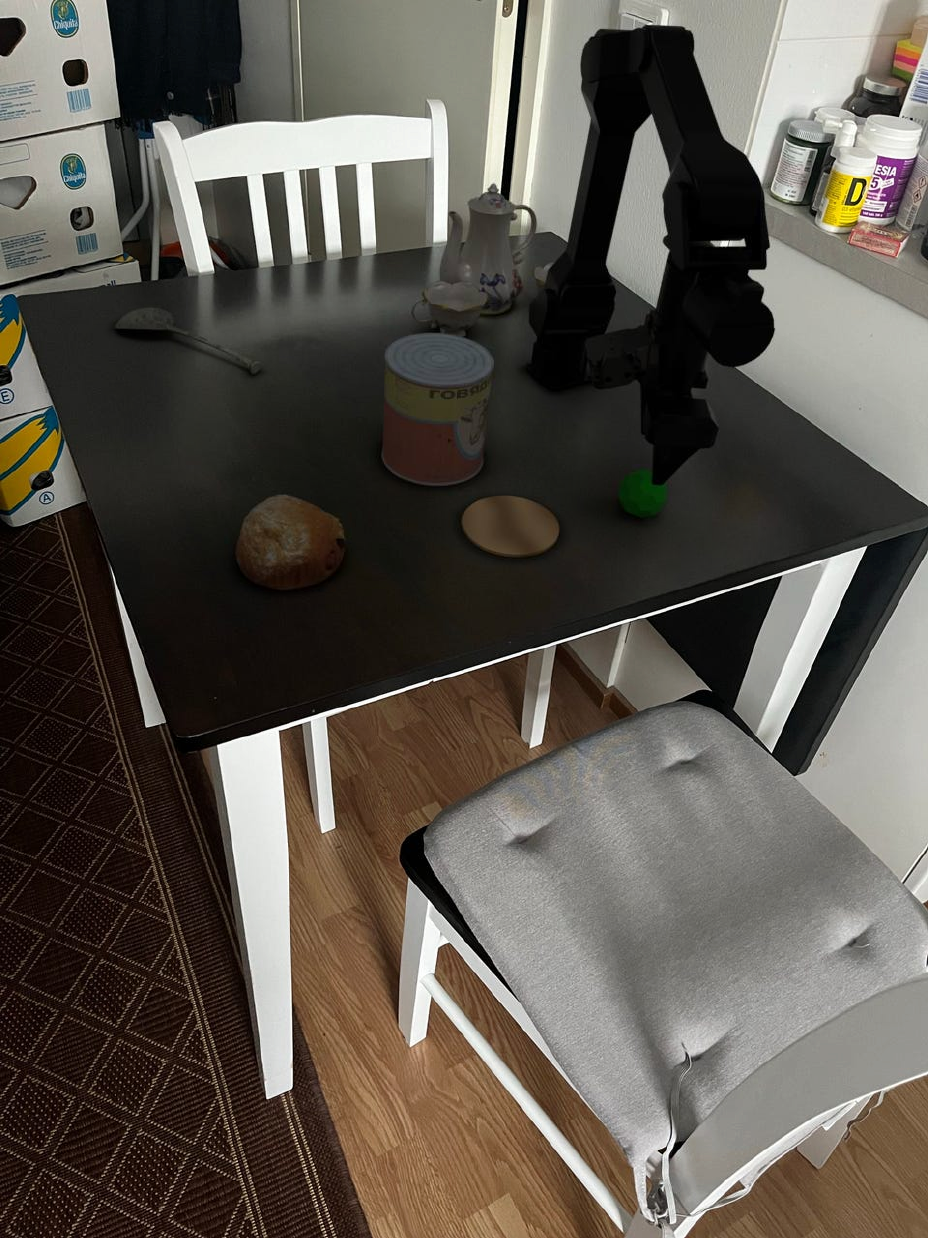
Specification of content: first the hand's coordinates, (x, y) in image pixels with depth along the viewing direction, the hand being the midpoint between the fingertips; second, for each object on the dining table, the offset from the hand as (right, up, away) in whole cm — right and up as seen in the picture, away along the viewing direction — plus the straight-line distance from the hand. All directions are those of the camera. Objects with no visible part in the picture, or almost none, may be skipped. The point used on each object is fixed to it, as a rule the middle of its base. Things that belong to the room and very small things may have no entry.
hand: (651, 458), depth 100 cm
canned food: (-23, +1, +9) cm, 24 cm away
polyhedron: (-1, -5, +5) cm, 7 cm away
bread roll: (-35, -11, -6) cm, 37 cm away
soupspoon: (-54, +17, +23) cm, 61 cm away
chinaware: (-15, +27, +38) cm, 49 cm away
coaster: (-14, -7, +1) cm, 16 cm away
